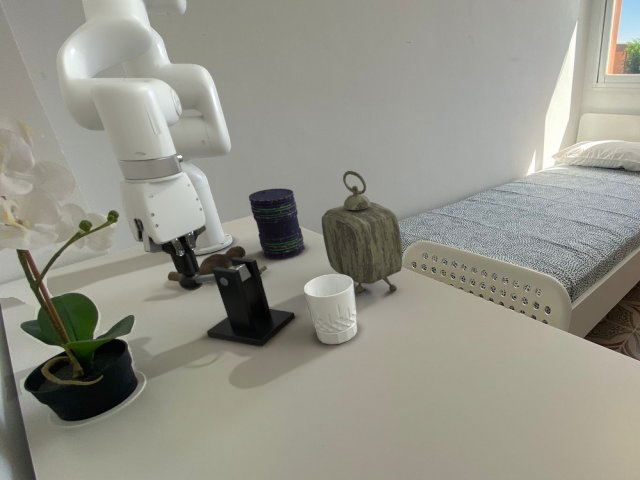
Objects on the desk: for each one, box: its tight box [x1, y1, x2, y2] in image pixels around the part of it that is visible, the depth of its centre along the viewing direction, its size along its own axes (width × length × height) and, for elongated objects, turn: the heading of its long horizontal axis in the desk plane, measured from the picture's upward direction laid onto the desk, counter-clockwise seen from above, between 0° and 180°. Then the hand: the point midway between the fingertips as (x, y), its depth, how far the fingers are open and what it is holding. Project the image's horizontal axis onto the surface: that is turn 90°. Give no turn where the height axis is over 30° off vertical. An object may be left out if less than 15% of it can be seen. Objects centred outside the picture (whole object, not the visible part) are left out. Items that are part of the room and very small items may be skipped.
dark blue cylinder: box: [248, 188, 306, 261], centre depth 101 cm, size 10×10×15 cm
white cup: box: [303, 273, 358, 345], centre depth 71 cm, size 8×8×10 cm
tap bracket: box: [206, 257, 296, 347], centre depth 72 cm, size 11×9×13 cm
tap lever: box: [178, 264, 251, 292], centre depth 72 cm, size 14×4×4 cm, turn 76°
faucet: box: [167, 245, 268, 283], centre depth 92 cm, size 5×17×15 cm
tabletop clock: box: [321, 170, 403, 293], centre depth 82 cm, size 14×9×25 cm, turn 50°
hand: (189, 272), depth 72 cm, fingers closed
